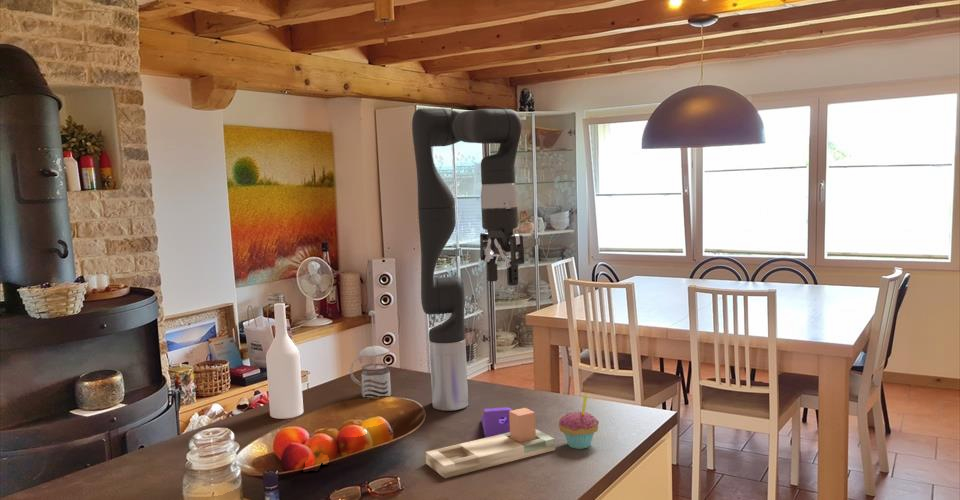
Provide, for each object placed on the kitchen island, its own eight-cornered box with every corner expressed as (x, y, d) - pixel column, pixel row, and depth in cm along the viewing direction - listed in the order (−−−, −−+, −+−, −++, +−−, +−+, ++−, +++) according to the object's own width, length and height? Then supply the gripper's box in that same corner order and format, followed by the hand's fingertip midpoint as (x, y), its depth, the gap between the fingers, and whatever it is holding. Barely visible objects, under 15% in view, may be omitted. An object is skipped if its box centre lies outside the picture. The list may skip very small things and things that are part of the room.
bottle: (270, 418, 178) (262, 302, 175) (303, 414, 180) (295, 300, 177) (270, 428, 170) (261, 307, 167) (304, 424, 172) (296, 304, 170)
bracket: (516, 439, 156) (515, 409, 156) (486, 441, 156) (484, 411, 155) (509, 422, 168) (508, 394, 167) (481, 424, 167) (480, 396, 167)
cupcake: (602, 439, 153) (600, 386, 152) (595, 453, 145) (593, 397, 144) (563, 436, 155) (561, 384, 154) (555, 450, 147) (552, 395, 146)
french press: (392, 406, 184) (387, 313, 182) (349, 408, 184) (343, 314, 182) (397, 395, 194) (392, 306, 192) (356, 397, 194) (350, 308, 192)
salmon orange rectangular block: (510, 442, 150) (509, 411, 150) (526, 438, 152) (524, 407, 151) (520, 448, 147) (519, 415, 146) (536, 444, 149) (534, 412, 148)
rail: (426, 463, 143) (425, 451, 143) (532, 437, 156) (531, 426, 155) (444, 478, 135) (444, 465, 135) (555, 449, 148) (554, 438, 147)
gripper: (467, 207, 149) (471, 281, 150) (500, 206, 136) (504, 288, 138) (497, 205, 153) (501, 278, 154) (533, 204, 140) (536, 284, 141)
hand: (502, 283), depth 146 cm, fingers open, 8 cm apart
